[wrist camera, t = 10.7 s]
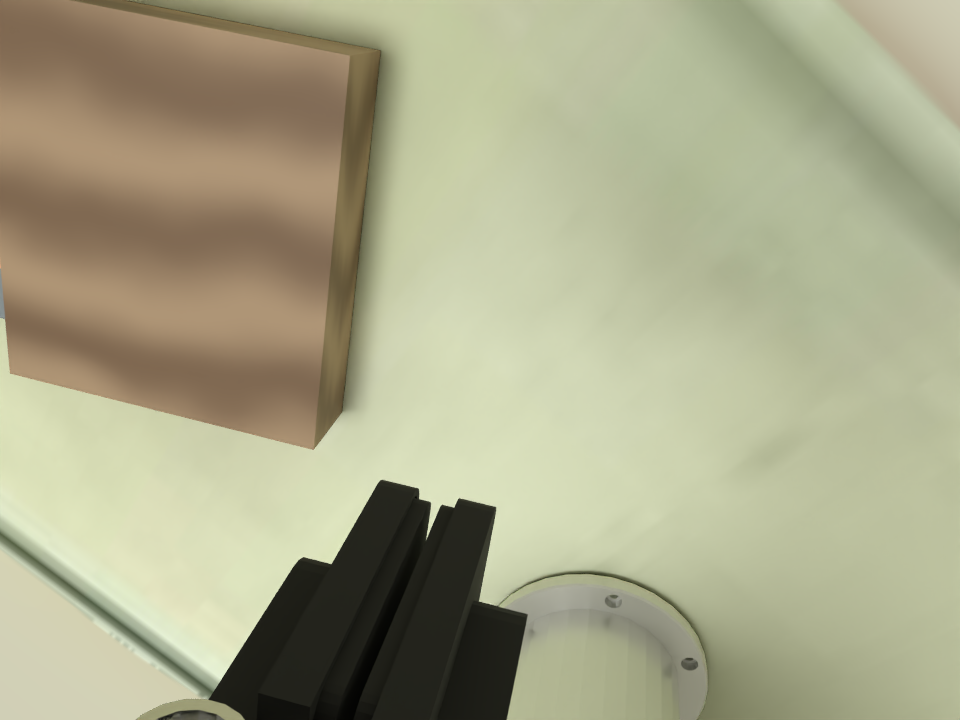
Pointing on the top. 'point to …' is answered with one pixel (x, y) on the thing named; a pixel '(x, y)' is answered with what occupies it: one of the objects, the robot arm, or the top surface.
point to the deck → (182, 210)
